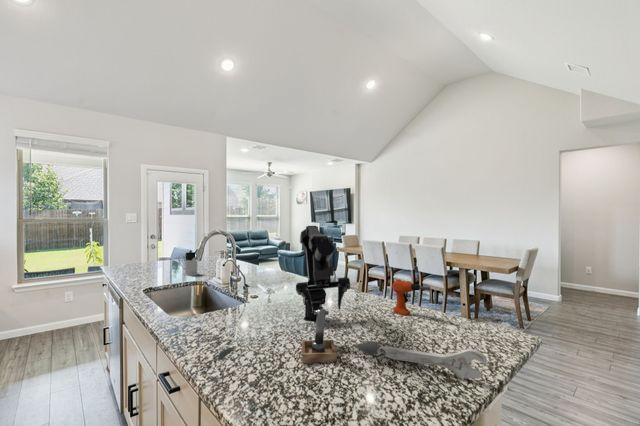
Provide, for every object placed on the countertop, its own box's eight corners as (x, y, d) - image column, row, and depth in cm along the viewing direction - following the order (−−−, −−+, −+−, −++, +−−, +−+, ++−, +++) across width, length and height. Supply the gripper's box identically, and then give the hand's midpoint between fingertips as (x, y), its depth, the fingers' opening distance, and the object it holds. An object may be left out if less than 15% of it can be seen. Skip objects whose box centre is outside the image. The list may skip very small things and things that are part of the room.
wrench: (380, 363, 96) (489, 382, 79) (378, 366, 95) (488, 385, 78) (378, 337, 97) (485, 350, 80) (375, 339, 95) (485, 353, 78)
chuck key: (311, 355, 93) (314, 311, 93) (310, 349, 97) (314, 307, 97) (325, 355, 93) (329, 312, 93) (324, 349, 97) (328, 308, 97)
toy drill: (430, 319, 124) (426, 281, 125) (391, 314, 138) (388, 279, 139) (436, 317, 127) (432, 280, 129) (397, 311, 141) (394, 278, 143)
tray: (302, 363, 89) (302, 354, 89) (301, 348, 99) (301, 340, 99) (336, 362, 90) (336, 353, 90) (332, 347, 100) (332, 339, 100)
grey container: (193, 276, 211) (193, 254, 211) (174, 275, 214) (174, 253, 214) (200, 273, 220) (200, 252, 220) (182, 272, 222) (182, 251, 222)
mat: (353, 347, 101) (353, 345, 101) (371, 341, 105) (371, 340, 105) (370, 356, 94) (370, 355, 94) (388, 350, 99) (388, 349, 99)
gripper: (292, 262, 106) (294, 308, 98) (346, 255, 105) (353, 301, 97) (297, 273, 115) (299, 316, 107) (347, 267, 115) (353, 310, 106)
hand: (325, 311), depth 104 cm, fingers open, 9 cm apart
